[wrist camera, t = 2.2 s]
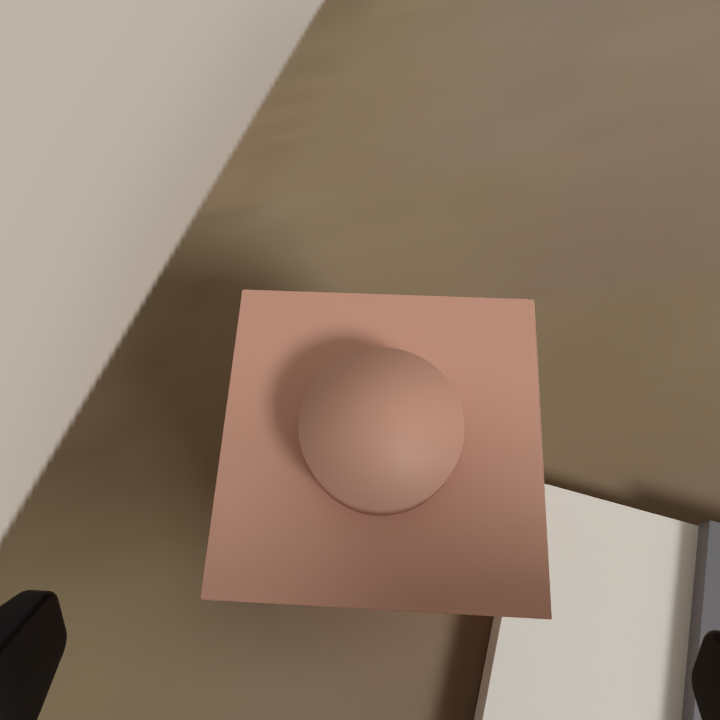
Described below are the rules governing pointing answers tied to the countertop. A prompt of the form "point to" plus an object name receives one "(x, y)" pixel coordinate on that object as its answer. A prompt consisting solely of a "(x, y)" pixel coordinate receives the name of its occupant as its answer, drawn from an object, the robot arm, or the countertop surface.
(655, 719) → the build board
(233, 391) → the pillar
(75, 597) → the countertop surface
